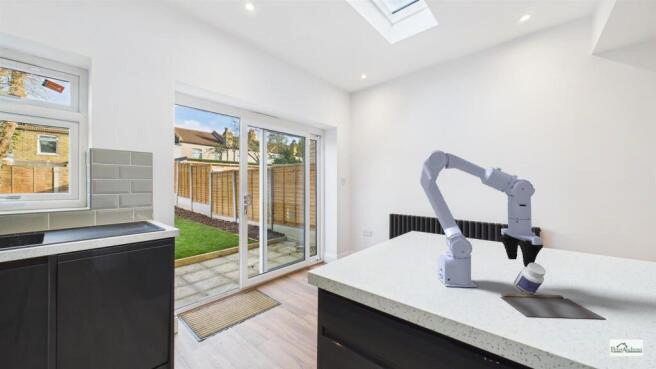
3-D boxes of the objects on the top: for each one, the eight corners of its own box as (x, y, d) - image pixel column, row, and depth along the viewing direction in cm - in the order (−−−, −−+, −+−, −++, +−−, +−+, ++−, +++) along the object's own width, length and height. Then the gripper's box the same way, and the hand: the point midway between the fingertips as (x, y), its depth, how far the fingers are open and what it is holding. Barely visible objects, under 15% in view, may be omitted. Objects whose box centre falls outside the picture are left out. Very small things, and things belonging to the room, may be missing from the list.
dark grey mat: (526, 316, 61) (526, 314, 61) (497, 295, 72) (497, 293, 72) (605, 319, 59) (605, 316, 59) (563, 297, 71) (563, 295, 71)
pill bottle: (537, 297, 71) (553, 277, 67) (517, 294, 72) (531, 274, 67) (529, 281, 76) (542, 262, 71) (510, 278, 77) (522, 259, 72)
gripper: (553, 221, 68) (553, 271, 68) (516, 215, 83) (517, 255, 83) (526, 222, 69) (527, 270, 69) (494, 215, 83) (495, 255, 83)
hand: (520, 262), depth 76 cm, fingers open, 6 cm apart
